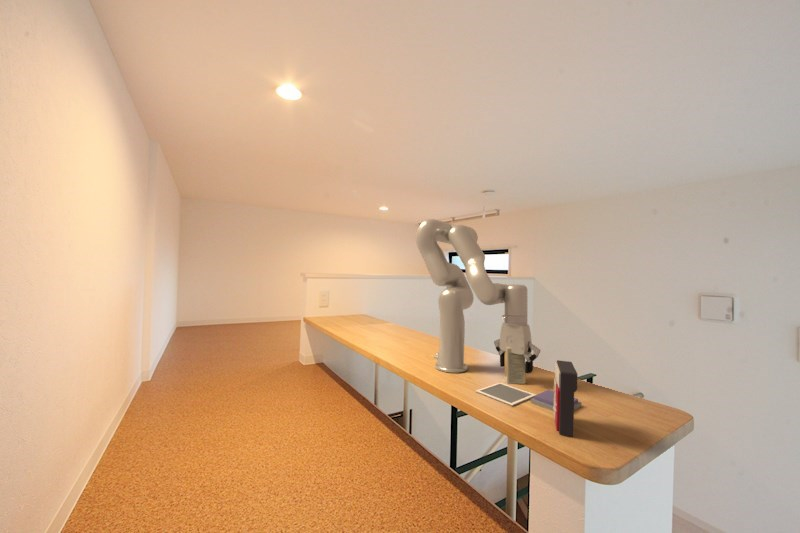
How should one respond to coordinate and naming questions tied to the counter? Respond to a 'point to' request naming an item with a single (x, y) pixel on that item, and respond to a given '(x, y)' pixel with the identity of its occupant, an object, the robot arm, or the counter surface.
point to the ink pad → (549, 400)
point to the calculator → (564, 397)
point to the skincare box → (514, 367)
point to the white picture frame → (506, 394)
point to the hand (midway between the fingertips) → (515, 369)
